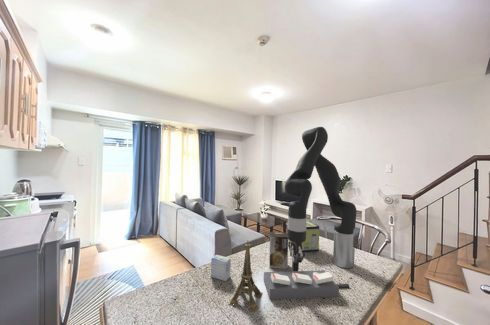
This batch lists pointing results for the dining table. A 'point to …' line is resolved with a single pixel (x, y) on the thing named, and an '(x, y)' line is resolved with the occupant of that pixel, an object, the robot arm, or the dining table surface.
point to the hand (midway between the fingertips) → (295, 270)
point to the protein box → (311, 238)
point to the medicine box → (220, 267)
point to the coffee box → (278, 250)
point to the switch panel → (300, 287)
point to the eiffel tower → (247, 283)
